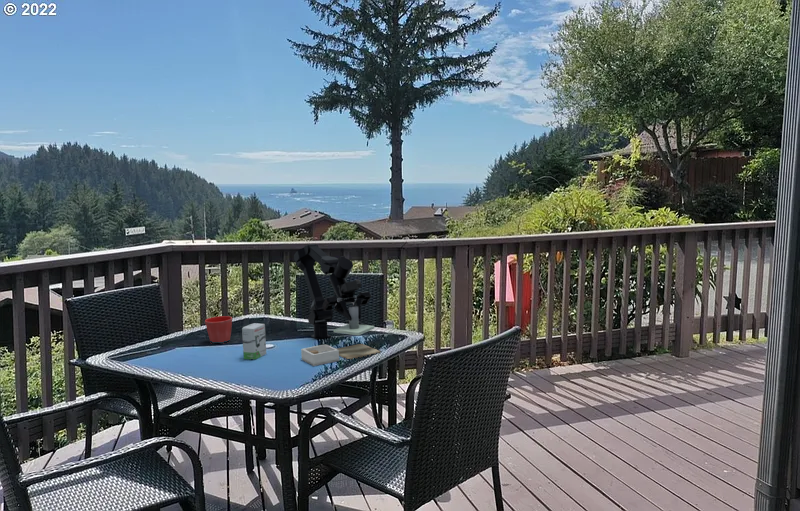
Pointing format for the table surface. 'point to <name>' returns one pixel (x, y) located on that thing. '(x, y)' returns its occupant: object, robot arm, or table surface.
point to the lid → (353, 324)
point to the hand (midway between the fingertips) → (355, 319)
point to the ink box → (254, 341)
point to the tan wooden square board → (356, 351)
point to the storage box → (320, 355)
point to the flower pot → (219, 328)
